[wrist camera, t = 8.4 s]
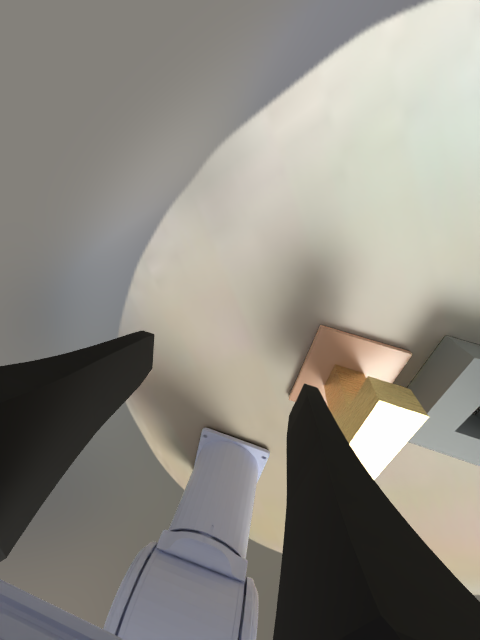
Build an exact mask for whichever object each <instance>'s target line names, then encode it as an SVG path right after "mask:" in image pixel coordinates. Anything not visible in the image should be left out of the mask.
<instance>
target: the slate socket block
mask: <svg viewBox="0 0 480 640" xmlns="http://www.w3.org/2000/svg"><path fill="white" fill-rule="evenodd" d="M407 388H408V389H411V391H412V392H413V394H414V395H415V397H416V398H417V400H418V401H419V403H420V404H421V406H422V407H423V409H424V410H425V412H426V413H427V415H428V416H429V417H428V418H427V420H426V421H425V422H424V423H423V424H422V425H421V426H420V428H419V429H418V430H417V431H416V432H415V433H414V434H413V436H412V437H411V438H410V439H409V440H408V441H407V442H409V443H412V444H415V445H418V446H421V447H424V448H427V449H430V450H433V451H436V452H439V453H442V454H445V455H448V456H451V457H454V458H457V459H460V460H463V461H466V462H469V463H472V464H475V465H478V466H480V411H479V412H478V413H477V414H476V415H474V414H472V413H473V412H474V411H475V410H476V409H477V408H478V407H479V406H480V345H478V344H474V343H471V342H467V341H464V340H460V339H457V338H453V337H450V336H445V337H444V338H443V340H442V341H441V342H440V344H439V345H438V346H437V348H436V349H435V350H434V352H433V353H432V355H431V356H430V357H429V359H428V360H427V361H426V363H425V364H424V365H423V367H422V368H421V369H420V371H419V372H418V373H417V375H416V376H415V377H414V379H413V380H412V381H411V383H410V384H409V386H408V387H407Z"/></svg>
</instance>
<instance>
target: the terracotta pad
mask: <svg viewBox="0 0 480 640" xmlns="http://www.w3.org/2000/svg"><path fill="white" fill-rule="evenodd" d="M411 356H412V354H411V352H410V351H407V350H404V349H401V348H397V347H394V346H390V345H387V344H384V343H380V342H377V341H374V340H370V339H367V338H364V337H360V336H357V335H353V334H350V333H347V332H343V331H340V330H337V329H333V328H330V327H327V326H323V325H320V326H319V329H318V331H317V333H316V336H315V338H314V340H313V342H312V345H311V347H310V349H309V352H308V354H307V356H306V358H305V361H304V363H303V365H302V368H301V370H300V372H299V374H298V377H297V379H296V381H295V384H294V386H293V388H292V390H291V393H290V395H289V400H291V401H294V402H296V400H297V398H298V395H299V393H300V391H301V389H302V387H303V385H304V383H305V384H308V385H311V386H314V387H317V388H318V389H319V391H320V393H321V395H322V396H323V398H324V400H325V402H326V404H327V400H326V394H325V388H324V385H325V383H326V381H327V379H328V377H329V375H330V373H331V371H332V369H333V367H334V365H335V364H336V365H339V366H342V367H346V368H349V369H352V370H355V371H358V372H362V373H364V374H365V376H366V378H367V377H368V376H370V377H373V378H376V379H379V380H382V381H386V382H389V383H393V382H394V380H395V379H396V378H397V376H398V375H399V373H400V372H401V370H402V369H403V367H404V366H405V365H406V363H407V362H408V360H409V359H410V357H411Z"/></svg>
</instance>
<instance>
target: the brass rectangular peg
mask: <svg viewBox="0 0 480 640" xmlns="http://www.w3.org/2000/svg"><path fill="white" fill-rule="evenodd" d="M324 388H325V394H326V400H327V406H328V408H329V410H330V412H331V413H332V415H333V417H334V419H335V421H336V422H337V424H338V426H339V428H340V429H341V431H342V433H343V434H344V436H345V438H346V439H347V441H348V443H349V444H350V446H351V447H352V449H353V450H354V452H355V454H356V455H357V457H358V458H359V460H360V461H361V463H362V464H363V466H364V467H365V468H366V470H367V471H368V473H369V474H370V475H371V477H372V478H373V479H375V478H376V477H377V476H378V475H379V474H380V472H381V471H382V470H383V469H384V468H385V467H386V466H387V464H388V463H389V462H390V461H391V460H392V459H393V457H394V456H395V455H396V454H397V453H398V452H399V451H400V449H401V448H402V447H403V446H404V445H405V444H406V443H407V441H408V440H409V439H410V438H411V437H412V436H413V434H414V433H415V432H416V431H417V430H418V429H419V428H420V426H421V425H422V424H423V423H424V422H425V421H426V420H427V418H428V417H429V416H428V415H427V413H426V412H425V410H424V409H423V407H422V406H421V404H420V403H419V401H418V400H417V398H416V397H415V395H414V394H413V392H412V391H411V389H408V388H405V387H402V386H398V385H395V384H392V383H389V382H386V381H382V380H379V379H376V378H373V377H370V376H368V377H367V378H366V376H365V374H364V373H362V372H358V371H355V370H352V369H349V368H346V367H342V366H339V365H336V364H335V365H334V367H333V369H332V371H331V373H330V375H329V377H328V379H327V381H326V383H325V385H324Z"/></svg>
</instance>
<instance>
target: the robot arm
mask: <svg viewBox="0 0 480 640" xmlns="http://www.w3.org/2000/svg"><path fill="white" fill-rule="evenodd" d="M153 347H154V334H152V333H148V332H145V331H139V332H135V333H132V334H129V335H126V336H122V337H119V338H117V339H113V340H110V341H107V342H104V343H101V344H97V345H94V346H91V347H87V348H84V349H80V350H77V351H73V352H70V353H66V354H62V355H58V356H53V357H49V358H44V359H40V360H35V361H30V362H25V363H18V364H12V365H6V366H0V562H1V561H2V560H4V559H5V558H7V556H8V555H9V553H10V552H11V550H12V548H13V547H14V545H15V544H16V542H17V541H18V539H19V538H20V536H21V535H22V533H23V532H24V530H25V529H26V527H27V526H28V525H29V523H30V522H31V520H32V518H33V517H34V516H35V514H36V513H37V511H38V510H39V508H40V507H41V505H42V504H43V502H44V501H45V500H46V498H47V497H48V496H49V494H50V493H51V491H52V490H53V489H54V487H55V486H56V484H57V483H58V482H59V480H60V479H61V478H62V476H63V475H64V474H65V472H66V471H67V470H68V468H69V467H70V465H71V464H72V463H73V462H74V460H75V459H76V458H77V456H78V455H79V454H80V452H81V451H82V450H83V448H84V447H85V446H86V445H87V443H88V442H89V441H90V440H91V438H92V437H93V436H94V435H95V433H96V432H97V431H98V430H99V429H100V428H101V426H102V425H103V424H104V423H105V422H106V421H107V420H108V419H109V418H110V417H111V415H113V414H114V413H115V411H116V410H117V409H118V408H119V407H120V406H121V405H122V404H123V403H124V402H125V401H126V400H127V399H128V398H129V397H130V396H131V395H132V393H133V392H134V391H135V390H136V389H137V388H138V387H139V386H140V385H141V383H142V382H143V381H144V379H145V378H146V376H147V375H148V374H149V372H150V371H151V369H152V364H153ZM269 454H270V452H269V451H268V450H267V449H264V448H262V447H259V446H256V445H253V444H251V443H248V442H245V441H242V440H240V439H237V438H234V437H231V436H229V435H226V434H223V433H220V432H218V431H215V430H212V429H209V428H203V430H202V432H201V437H200V442H199V446H198V451H197V455H196V460H195V464H194V469H193V471H192V474H191V476H190V479H189V481H188V484H187V486H186V488H185V491H184V493H183V496H182V499H181V501H180V503H179V506H178V508H177V510H176V513H175V515H174V518H173V520H172V523H171V525H170V528H169V530H163V531H162V534H161V536H160V538H159V541H158V543H157V542H155V541H151V542H150V543H149V544H148V545H147V546H145V547H144V548H143V549H141V550H140V552H139V553H138V554H137V556H136V557H135V558H134V560H133V562H132V563H131V565H130V567H129V569H128V571H127V573H126V575H125V577H124V578H123V581H122V583H121V585H120V587H119V589H118V591H117V594H116V596H115V598H114V601H113V603H112V606H111V608H110V611H109V614H108V617H107V619H106V622H105V625H104V628H103V629H102V628H100V627H98V626H95V625H93V624H91V623H89V622H87V621H85V620H83V619H81V618H79V617H77V616H75V615H73V614H71V613H69V612H66V611H65V610H63V609H60V608H58V607H56V606H54V605H52V604H50V603H48V602H46V601H44V600H42V599H39V598H38V597H36V596H34V595H32V594H30V593H27V592H26V591H23V590H21V589H19V588H17V587H15V586H13V585H11V584H9V583H7V582H5V581H3V580H1V579H0V640H256V635H257V623H258V602H259V600H258V592H257V589H256V587H255V585H254V580H253V579H252V578H250V577H246V570H247V563H248V561H247V560H246V559H245V558H246V551H247V545H248V538H249V531H250V524H251V518H252V511H253V504H254V497H255V491H256V484H257V482H258V480H259V477H260V475H261V473H262V471H263V469H264V466H265V464H266V462H267V460H268V458H269ZM245 577H246V579H245ZM273 640H480V602H479V601H478V600H477V599H476V598H475V597H474V596H473V595H472V593H471V592H470V591H469V590H468V589H467V588H466V587H465V586H464V585H463V584H462V583H461V582H460V581H459V580H458V579H457V578H456V577H455V576H454V575H453V574H452V572H451V571H450V570H449V569H448V568H447V567H446V566H445V565H444V564H443V563H442V561H441V560H440V559H439V558H438V557H437V556H436V555H435V554H434V553H433V551H432V550H431V549H430V548H429V547H428V546H427V545H426V544H425V543H424V541H423V540H422V539H421V538H420V537H419V536H418V534H417V533H416V532H415V531H414V530H413V529H412V527H411V526H410V525H409V524H408V523H407V521H406V520H405V519H404V518H403V517H402V515H401V514H400V513H399V512H398V510H397V509H396V508H395V507H394V506H393V504H392V503H391V502H390V501H389V499H388V498H387V497H386V495H385V494H384V493H383V492H382V490H381V489H380V488H379V486H378V485H377V484H376V482H375V481H374V479H373V478H372V477H371V475H370V474H369V473H368V471H367V470H366V468H365V467H364V466H363V464H362V463H361V461H360V460H359V458H358V457H357V455H356V454H355V452H354V450H353V449H352V447H351V446H350V444H349V443H348V441H347V439H346V438H345V436H344V434H343V433H342V431H341V429H340V428H339V426H338V424H337V422H336V421H335V419H334V417H333V415H332V413H331V412H330V410H329V408H328V406H327V404H326V402H325V400H324V398H323V396H322V395H321V393H320V391H319V389H318V388H317V387H314V386H311V385H308V384H305V383H304V385H303V387H302V389H301V391H300V393H299V395H298V398H297V400H296V402H295V404H294V406H293V408H292V411H291V413H290V415H289V422H288V430H287V508H286V520H285V532H284V544H283V555H282V565H281V575H280V584H279V593H278V602H277V611H276V620H275V628H274V636H273Z"/></svg>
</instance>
